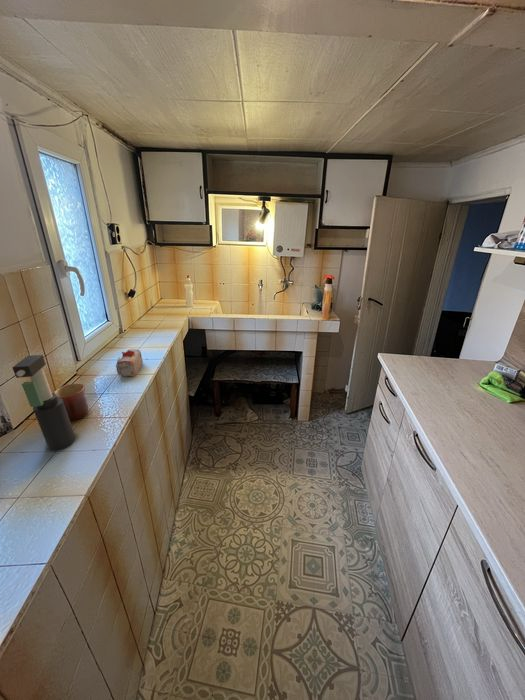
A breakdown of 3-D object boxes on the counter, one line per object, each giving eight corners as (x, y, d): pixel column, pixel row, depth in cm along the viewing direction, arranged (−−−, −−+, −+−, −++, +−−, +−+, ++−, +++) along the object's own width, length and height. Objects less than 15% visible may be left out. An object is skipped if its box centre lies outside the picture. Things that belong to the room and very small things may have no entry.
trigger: (41, 405, 75) (33, 383, 72) (30, 407, 75) (21, 384, 72) (43, 403, 76) (35, 381, 73) (33, 404, 76) (24, 382, 73)
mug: (94, 415, 98) (87, 390, 94) (65, 426, 93) (55, 400, 89) (86, 401, 106) (79, 377, 102) (59, 410, 101) (50, 385, 97)
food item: (136, 378, 122) (132, 357, 118) (117, 379, 121) (112, 358, 117) (144, 364, 135) (141, 345, 131) (127, 364, 134) (123, 345, 130)
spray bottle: (66, 455, 81) (33, 367, 70) (38, 458, 80) (1, 370, 68) (79, 433, 90) (52, 351, 78) (54, 435, 89) (23, 354, 77)
